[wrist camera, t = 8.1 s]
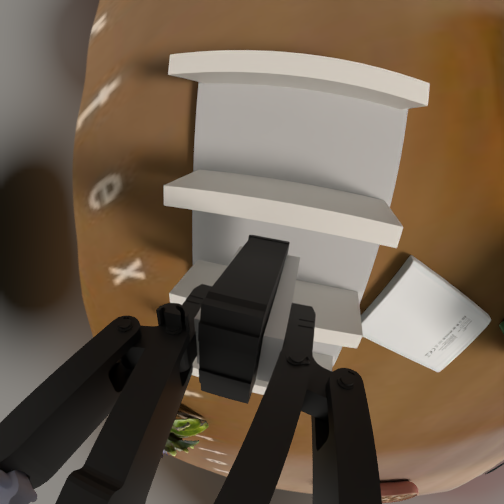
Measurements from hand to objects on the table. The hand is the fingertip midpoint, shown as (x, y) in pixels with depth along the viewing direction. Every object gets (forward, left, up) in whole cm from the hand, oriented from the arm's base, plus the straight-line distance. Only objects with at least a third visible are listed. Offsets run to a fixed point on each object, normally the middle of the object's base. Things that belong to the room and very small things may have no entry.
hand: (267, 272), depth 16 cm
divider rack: (0, 0, -5) cm, 5 cm away
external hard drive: (-15, +5, -6) cm, 17 cm away
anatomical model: (-33, +56, -6) cm, 65 cm away
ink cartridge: (0, 0, -1) cm, 1 cm away
